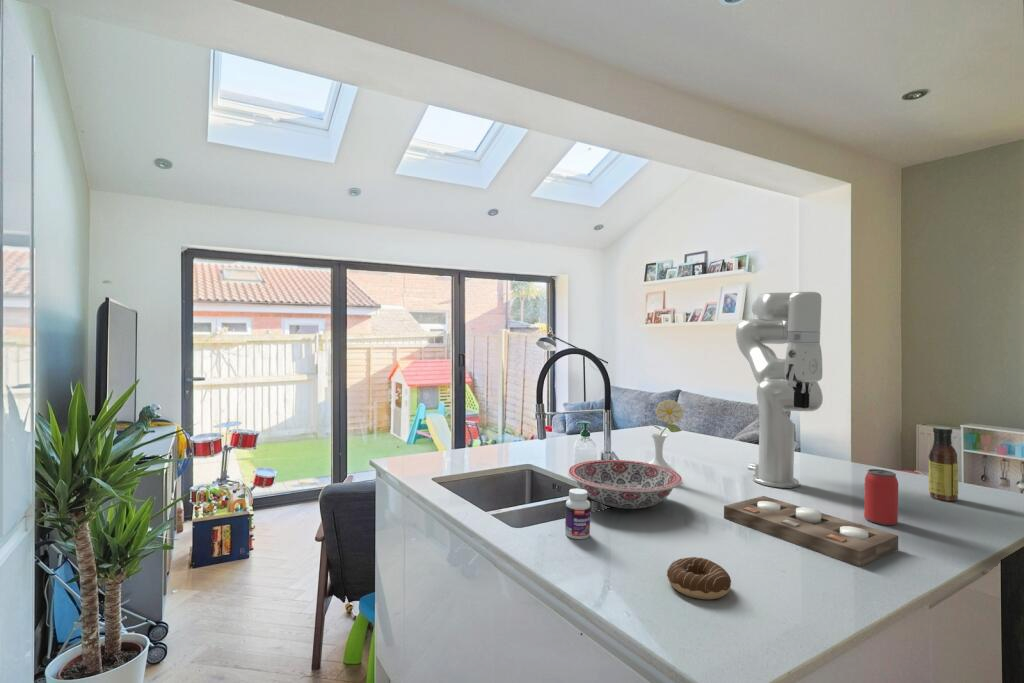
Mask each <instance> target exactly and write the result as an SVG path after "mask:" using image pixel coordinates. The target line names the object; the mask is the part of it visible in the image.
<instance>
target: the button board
mask: <svg viewBox="0 0 1024 683" xmlns="http://www.w3.org/2000/svg"><path fill="white" fill-rule="evenodd" d="M759 501H769V502H774V503H777V504H779V505H780V510H778V511H775V512H772V511H769V510H766V509H763V508H759V507H757V502H759ZM799 507H801V506H798V505H795V504H793V503H789V502H786V501H782V500H779V499H775V498H772V497H768V496H764V495H761V496H757V497H753V498H750V499H746V500H742V501H738V502H734V503H729V504H725V505H724V506H723V519H725V520H728V521H732V522H734V523H737V524H738V525H742V526H745V527H748V528H751V529H753V530H756V531H759V532H762V533H764V534H767V535H770V536H773V537H776V538H778V539H782V540H783V541H786V542H790V543H792V544H794V545H795V544H796V545H798V546H800V547H803V548H806V549H808V550H811V551H815V552H818V553H820V554H823V555H825V556H828V557H831V558H834V559H836V560H839V561H842V562H844V563H847V564H849V565H853V566H856V567H858V568H861V567H862V566H865V565H867V564H870V563H872V562H875V561H877V560H878V558H879V559H881V558H884V557H886V556H888V555H890V554H893V553H895V552H897V551H899V535H897V534H894V533H892V532H891V533H890V532H887V531H884V530H880V529H877V528H873V527H870V526H868V525H864V524H860V523H856V522H853V521H849V520H846V519H843V518H840V517H837V516H832V515H830V514H826V513H823V512H821V523H819V524H811V523H806V522H803V521H800V520H797V519H796V508H799ZM842 526H851V527H857V528H860V529H863V530H865V531H867V532H868V538H867V539H865V540H860V539H857V538H854V537H850V536H847V535H844V534H841V533H840V527H842ZM896 550H897V551H896ZM894 551H895V552H894ZM892 552H893V553H892ZM889 553H890V554H889ZM887 554H888V555H887ZM885 555H886V556H885ZM876 559H877V560H876Z"/></svg>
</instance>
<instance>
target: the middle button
mask: <svg viewBox="0 0 1024 683" xmlns="http://www.w3.org/2000/svg"><path fill="white" fill-rule="evenodd" d="M821 513H822V512H821V511H820V510H819V509H815V508H811V507H805V506H800V507H799V508H796V519H797V520H800V521H803V522H806V523H811V524H819V523H821Z"/></svg>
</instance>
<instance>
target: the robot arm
mask: <svg viewBox="0 0 1024 683" xmlns="http://www.w3.org/2000/svg"><path fill="white" fill-rule="evenodd" d="M751 313H752V314H753V316H754V317H755V318H753V319H752V318H751V319H750V318H749V319H747V320H743V321H741V322H739V323H738V324H737V326H736V329H735V337H736V343H737V346H738V349H739V351H740V352H741V354H742V355H743V356H744V358H745V359H746V360H747V362H748V363H749V365H750V366H749V367H750V369H751V372H752V374H753V376H754V377H753V378H754V379H755V381H756V382H757V384H758V385H757V387H756V399H757V404H758V415H759V416H758V418H759V419H758V420H759V421H758V422H759V423H758V429H759V431H758V434H759V436H758V463H753V462H749V463H748V466H747V469H748V470H749V471H753V472H754V474H753V475H752V480H753V482H756V483H757V484H759V485H763V486H767V487H773V488H781V489H783V488H784V489H792V488H797V487H800V481H799V480H798V479H797V478H795V477H794V469H795V468H794V465H795V464H794V463H795V460H794V458H795V425H794V423H793V422H794V421H792V419H791V418H790V417H789V416H788V414H787V413H786V412H814V411H817V410H819V409H820V408H821V407H822V404H823V401H824V400H823V397H824V396H823V392H822V389H821V385H820V384H819V381H821V380H822V379H823V355H822V354H823V353H822V347H821V324H822V323H821V321H822V296H821V294H820V293H819V292H817V291H796V292H764V293H760V294H758V296H757V297H756V299H755V300H754V302H753V303H752V305H751ZM767 344H772V345H773V344H777V345H778V344H779V345H783V344H787V346H786V351H785V352H786V353H785V358H778V357H777V355H776V353H775V351H774V350H773V349H772V348H771V347H769V346H768V345H767Z"/></svg>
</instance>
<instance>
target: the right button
mask: <svg viewBox="0 0 1024 683" xmlns="http://www.w3.org/2000/svg"><path fill="white" fill-rule="evenodd" d="M840 533H841V534H844V535H847V536H850V537H854V538H857V539H860V540H865V539H867V538H868V532H867V531H865V530H863V529H860V528H857V527H851V526H842V527H840Z"/></svg>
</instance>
